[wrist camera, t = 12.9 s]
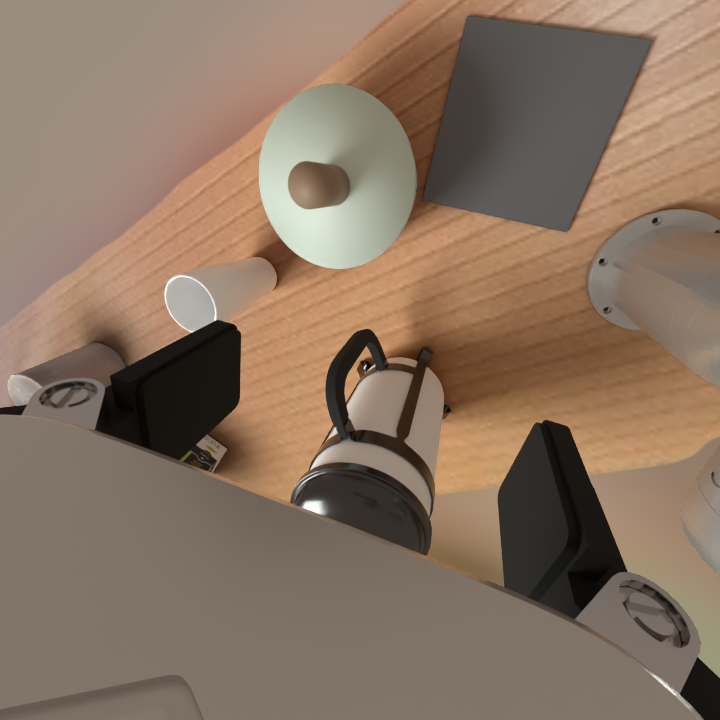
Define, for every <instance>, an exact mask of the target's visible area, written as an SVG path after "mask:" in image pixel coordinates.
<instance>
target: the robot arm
mask: <svg viewBox="0 0 720 720" xmlns="http://www.w3.org/2000/svg"><path fill="white" fill-rule="evenodd" d="M654 218H656V221H655V222H654V223H652V220H653V219H654ZM715 231H716V233H714V232H715ZM600 259H603V262H602V263H599V260H600ZM587 291H588V295H589V298H590V301H591V303H592V305H593V306H594V308H595V309H596V311H597V312H598V313H599V314H600V315H601V316H602V317H603V318H605V319H606V320H607V321H609V322H610V323H612V324H614V325H616V326H618V327H620V328H624V329H628V330H633V331H644V332H645V333H646V334H647V335H649V336H650V337H651V338H652V339H653V340H655V341H656V342H657V343H658V344H659V345H660V346H662V347H663V348H664V349H665V350H666V351H667V352H669V353H670V354H671V355H672V356H673V357H674V358H676V359H677V360H678V361H679V362H680V363H682V364H683V365H684V366H685V367H687V368H688V369H689V370H690V371H691V372H693V373H694V374H695V375H697V376H698V377H700V378H701V379H703V380H704V381H706V382H708V383H710V384H712V385H714V386H716V387H719V388H720V220H719V219H717V218H715V217H713V216H712V215H710V214H707V213H703V212H700V211H696V210H689V209H668V210H662V211H656V212H653V213H650V214H646V215H643V216H641V217H639V218H637V219H635V220H633V221H631V222H629V223H627V224H626V225H624V226H623V227H621V228H620V229H618V230H617V231H616V232H615V233H613V234H612V235H611V236H610V237H609V238H608V239H607V240H606V241H605V242H604V243H603V245H602V246H601V247H600V248H599V250H598V251H597V253H596V255H595V257H594V258H593V260H592V262H591V265H590V268H589V271H588V277H587ZM605 307H607V309H606V310H603V309H604V308H605ZM240 357H241V333H240V331H239V330H237V327H236V326H235V325H234V324H231V323H227V322H224V321H221V320H216V321H214V322H212V323H210V324H208V325H206V326H204V327H202V328H200V329H198V330H196V331H194V332H193V333H191V334H189V335H187V336H185V337H183V338H181V339H179V340H177V341H175V342H173V343H172V344H170V345H168V346H166V347H164V348H162V349H160V350H158V351H156V352H154V353H152V354H151V355H149V356H147V357H145V358H143V359H141V360H139V361H137V362H135V363H133V364H131V365H130V366H128V367H126V368H124V369H122V370H120V371H118V372H116V373H114V374H112V375H110V380H111V385H109V386H108V387H106V388H105V386H104V385H103V384H102V383H101V382H99V381H97V380H94V379H89V378H71V379H64V380H60V381H56V382H53V383H51V384H48V385H46V386H43V387H42V388H40V389H39V390H37V391H36V392H35V393H34V394H33V395H32V397H31V398H30V400H29V402H28V404H27V405H21V406H12V407H4V408H0V720H720V678H719V677H718V676H717V675H716V674H715V673H714V672H712V671H711V670H710V669H709V668H708V667H707V666H706V665H705V664H704V663H703V662H702V661H701V660H700V659H699V658H698V654H699V652H700V645H701V642H700V638H699V635H698V632H697V629H696V627H695V626H694V624H693V622H692V620H691V619H690V617H689V616H688V614H687V613H686V612H685V611H684V609H683V608H682V607H681V606H680V604H679V603H678V602H677V601H676V600H675V599H673V598H672V597H671V596H670V595H669V594H668V593H667V592H666V591H665V590H663V589H662V588H661V587H659V586H658V585H656V584H655V583H654V582H651V581H650V580H648V579H646V578H644V577H642V576H640V575H637V574H633V573H630V572H627V569H626V567H625V565H624V562H623V559H622V557H621V554H620V552H619V549H618V547H617V545H616V542H615V539H614V537H613V535H612V532H611V530H610V527H609V524H608V522H607V519H606V517H605V514H604V512H603V509H602V507H601V504H600V502H599V499H598V497H597V495H596V492H595V489H594V488H593V486H592V484H591V482H590V479H589V477H588V474H587V472H586V469H585V467H584V464H583V462H582V459H581V457H580V454H579V452H578V449H577V447H576V444H575V442H574V439H573V437H572V434H571V432H570V429H569V428H568V427H567V426H565V425H561V424H558V423H555V422H552V421H548V420H545V421H543V422H542V424H541V423H538V422H537V423H535V424H534V426H533V428H532V429H531V431H530V433H529V435H528V437H527V439H526V441H525V442H524V444H523V446H522V448H521V450H520V452H519V453H518V455H517V457H516V459H515V461H514V463H513V465H512V466H511V468H510V470H509V472H508V474H507V476H506V477H505V479H504V481H503V483H502V485H501V487H500V489H499V493H498V509H499V522H500V535H501V546H502V560H503V572H504V584H505V585H504V586H505V587H502V586H499V585H497V584H495V583H492V582H490V581H488V580H485V579H483V578H480V577H477V576H475V575H473V574H470V573H468V572H465V571H463V570H460V569H458V568H456V567H453V566H451V565H448V564H446V563H443V562H441V561H438V560H435V559H432V558H430V557H428V556H425V555H423V554H420V553H418V552H415V551H412V550H410V549H407V548H405V547H402V546H400V545H397V544H395V543H392V542H389V541H387V540H384V539H382V538H379V537H377V536H374V535H372V534H369V533H367V532H364V531H361V530H359V529H356V528H354V527H351V526H349V525H346V524H343V523H341V522H338V521H336V520H333V519H331V518H328V517H325V516H323V515H320V514H318V513H315V512H312V511H310V510H307V509H305V508H302V507H299V506H297V505H294V504H292V503H289V502H287V501H284V500H281V499H279V498H276V497H273V496H271V495H268V494H266V493H263V492H260V491H258V490H255V489H253V488H250V487H247V486H245V485H242V484H240V483H237V482H234V481H232V480H229V479H226V478H224V477H221V476H219V475H216V474H213V473H211V472H208V471H205V470H203V469H200V468H197V467H195V466H192V465H189V464H187V463H184V462H182V461H179V460H180V459H181V458H183V457H184V456H185V455H186V454H187V453H188V452H189V451H190V450H191V449H192V448H193V447H194V446H195V445H196V444H197V443H199V442H200V441H201V440H202V439H203V438H204V437H205V436H206V435H207V434H208V433H209V432H210V431H211V430H212V429H214V428H215V427H216V426H217V425H218V424H219V423H220V422H221V421H222V420H223V419H224V418H225V417H226V416H227V415H228V414H230V413H231V412H232V411H233V410H234V409H235V408H236V406H237V405H238V403H239V399H240ZM681 522H682V526H683V529H684V532H685V534H686V536H687V538H688V540H689V541H690V543H691V545H692V546H693V548H694V549H695V550H696V551H697V553H698V554H699V555H700V557H701V558H702V559H703V560H704V561H705V562H706V563H707V564H708V566H709V567H710V568H711V569H713V571H714V572H715V573H716V574H717V575H718V576H720V445H719V446H718V447H717V449H716V450H715V451H714V453H713V454H712V456H711V457H710V458H709V459H708V461H707V462H706V464H705V465H704V466H703V468H702V469H701V471H700V472H699V474H698V475H697V477H696V478H695V480H694V481H693V482H692V484H691V485H690V487H689V489H688V490H687V492H686V494H685V496H684V499H683V501H682V506H681Z"/></svg>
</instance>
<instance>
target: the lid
mask: <svg viewBox="0 0 720 720" xmlns="http://www.w3.org/2000/svg"><path fill="white" fill-rule="evenodd" d="M416 180H417V178H416V165H415V159H414V154H413V151H412V147H411V144H410V141H409V139H408V137H407V135H406V132H405V130H404V129H403V127H402V125H401V124H400V122H399V121H398V119H397V118H396V117H395V116H394V114H393V113H392V112H391V111H390V110H389V109H388V108H387V107H386V106H385V105H384V104H383V103H382V102H380V101H379V100H378V99H377V98H375V97H374V96H372V95H371V94H369V93H368V92H365V91H363V90H361V89H359V88H356V87H353V86H349V85H344V84H325V85H320V86H316V87H312V88H310V89H308V90H306V91H304V92H302V93H300V94H299V95H297V96H295V97H294V98H292V99H291V100H290V101H289V102H288V103H287V104H286V105H285V106H284V107H283V108H282V109H281V110H280V112H279V113H278V114H277V115H276V117H275V119H274V120H273V122H272V123H271V125H270V127H269V129H268V132H267V134H266V136H265V139H264V142H263V146H262V150H261V155H260V162H259V185H260V193H261V197H262V202H263V205H264V208H265V211H266V214H267V216H268V218H269V220H270V223H271V224H272V226H273V228H274V230H275V231H276V233H277V234H278V235H279V237H280V238H281V239H282V241H283V242H284V243H285V244H286V245H287V246H288V247H289V248H290V249H291V250H292V251H293V252H295V253H296V254H297V255H299V256H300V257H302V258H303V259H305V260H307V261H309V262H311V263H313V264H316V265H319V266H321V267H326V268H332V269H345V268H352V267H356V266H360V265H362V264H365V263H368V262H369V261H371V260H373V259H375V258H376V257H378V256H379V255H380V254H382V253H383V252H384V251H386V250H387V249H388V248H389V247H390V246H391V245H392V244H393V243H394V242H395V240H396V239H397V238H398V237H399V235H400V234H401V232H402V231H403V229H404V227H405V225H406V223H407V221H408V219H409V217H410V214H411V211H412V207H413V204H414V199H415V193H416Z"/></svg>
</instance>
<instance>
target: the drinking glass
mask: <svg viewBox="0 0 720 720" xmlns="http://www.w3.org/2000/svg"><path fill="white" fill-rule="evenodd" d="M276 283H277V275H276V271H275V269H274V267H273V266H272V264H271V263H270V262H269V261H267V260H266V259H264V258H261V257H252V258H249V259H245V260H239V261H233V262H227V263H221V264H214V265H209V266H204V267H199V268H196V269H192V270H189V271H186V272H184V273H181V274H179V275H176V276H174V277H172V278H171V279H170V280H169V281H168V283H167V285H166V288H165V302H166V306H167V308H168V311H169V312H170V314H171V316H172V317H173V319H174V320H175V321H176V322H177V323H178V324H179V325H180V326H181V327H183V328H184V329H186V330H188V331H190V332H194V331H196V330H198V329H200V328H202V327H204V326H206V325H208V324H210V323H212V322H214V321H216V320H221V321H224V322H228V321H230V320H231V319H233V318H234V317H236V316H237V315H238V314H240V313H241V312H242V311H244V310H245V309H246V308H248V307H249V306H250V305H252V304H253V303H255V302H256V301H257V300H259V299H260V298H261V297H263V296H264V295H266V294H268V293H270V292H271V291H272V290H273V289H274V288H275V286H276Z"/></svg>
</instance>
